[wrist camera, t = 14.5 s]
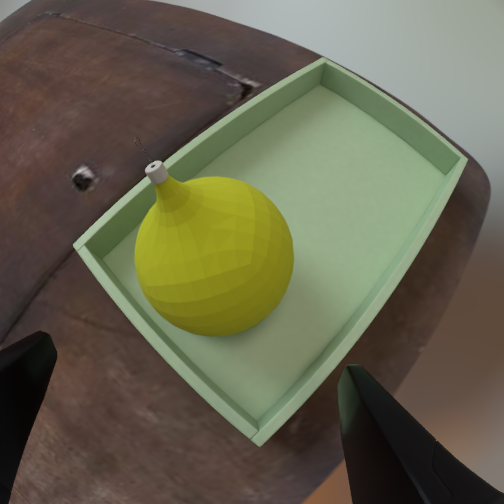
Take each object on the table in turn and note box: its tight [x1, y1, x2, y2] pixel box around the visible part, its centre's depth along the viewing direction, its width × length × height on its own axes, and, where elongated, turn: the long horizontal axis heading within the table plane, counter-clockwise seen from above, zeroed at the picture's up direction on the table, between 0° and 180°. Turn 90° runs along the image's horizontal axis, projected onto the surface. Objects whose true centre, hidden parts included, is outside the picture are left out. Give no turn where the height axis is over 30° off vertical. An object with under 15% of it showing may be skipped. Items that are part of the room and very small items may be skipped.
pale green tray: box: [73, 58, 468, 447], centre depth 18 cm, size 14×23×3 cm, turn 137°
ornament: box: [134, 137, 294, 337], centre depth 12 cm, size 7×7×10 cm
